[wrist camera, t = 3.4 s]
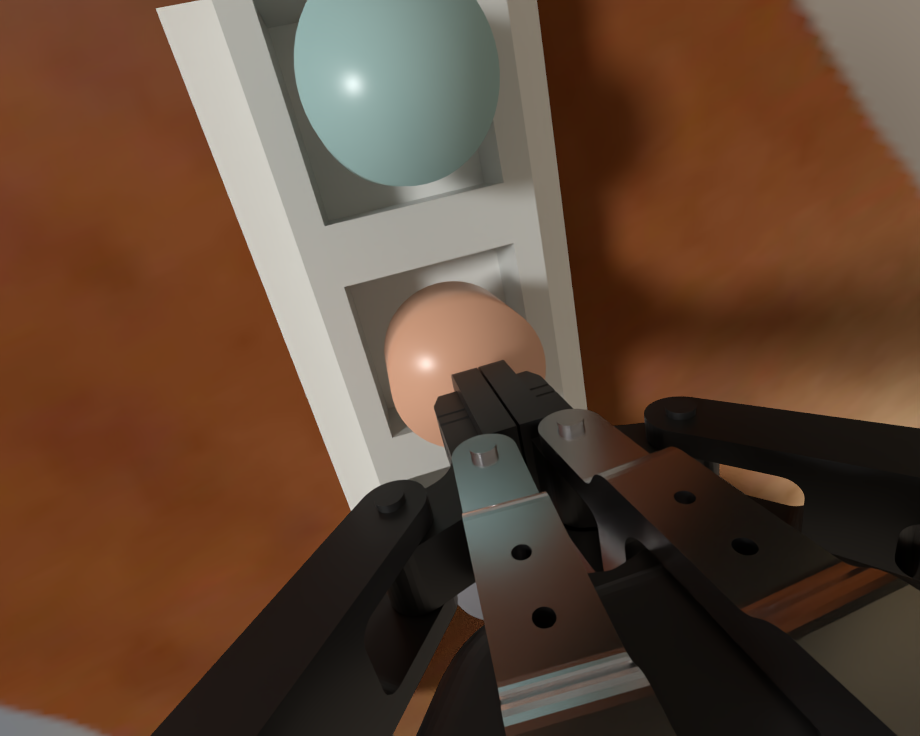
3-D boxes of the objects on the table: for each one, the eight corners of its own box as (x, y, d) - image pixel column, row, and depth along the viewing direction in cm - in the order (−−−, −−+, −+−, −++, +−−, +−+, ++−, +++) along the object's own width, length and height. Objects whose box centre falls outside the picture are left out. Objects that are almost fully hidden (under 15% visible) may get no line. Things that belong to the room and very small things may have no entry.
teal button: (280, 16, 13) (260, -30, 10) (452, -17, 13) (478, -70, 10) (336, 202, 14) (333, 206, 12) (485, 167, 15) (514, 162, 12)
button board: (173, 24, 16) (116, -27, 12) (515, -41, 17) (561, -106, 13) (376, 559, 25) (381, 624, 21) (586, 490, 26) (625, 540, 23)
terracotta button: (367, 301, 16) (370, 325, 13) (503, 265, 16) (533, 281, 14) (404, 423, 18) (413, 467, 15) (524, 388, 18) (555, 423, 15)
